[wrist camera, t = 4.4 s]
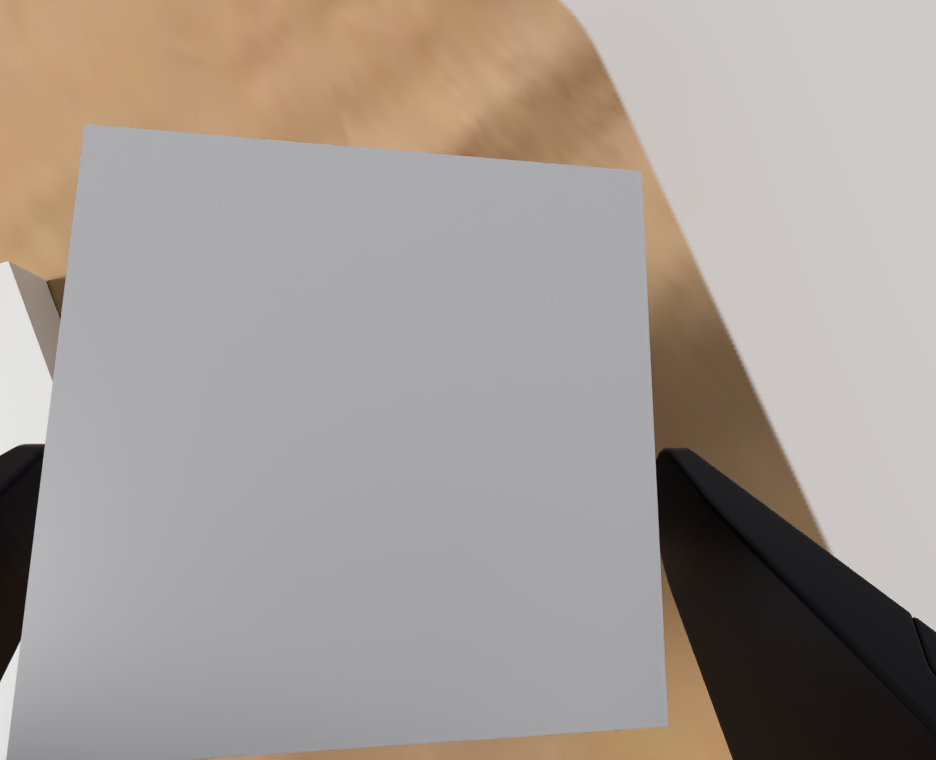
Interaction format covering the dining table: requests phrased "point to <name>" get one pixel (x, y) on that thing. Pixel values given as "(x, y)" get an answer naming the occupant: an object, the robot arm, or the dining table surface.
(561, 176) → the plug
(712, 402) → the dining table surface
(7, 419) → the socket plate
